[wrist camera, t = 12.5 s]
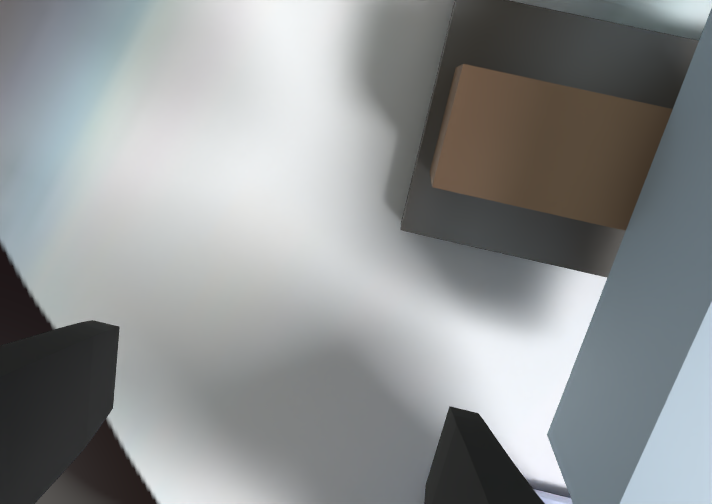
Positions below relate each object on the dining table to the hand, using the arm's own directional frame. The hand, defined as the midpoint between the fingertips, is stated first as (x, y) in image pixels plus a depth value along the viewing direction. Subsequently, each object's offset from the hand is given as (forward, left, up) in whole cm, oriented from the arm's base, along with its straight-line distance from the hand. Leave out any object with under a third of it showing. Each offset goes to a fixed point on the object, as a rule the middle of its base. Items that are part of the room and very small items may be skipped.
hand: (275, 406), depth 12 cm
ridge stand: (+6, -10, -10) cm, 16 cm away
